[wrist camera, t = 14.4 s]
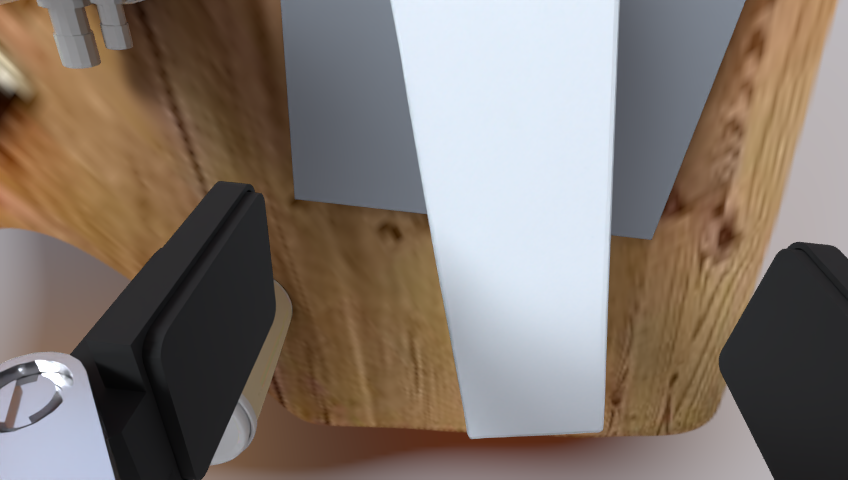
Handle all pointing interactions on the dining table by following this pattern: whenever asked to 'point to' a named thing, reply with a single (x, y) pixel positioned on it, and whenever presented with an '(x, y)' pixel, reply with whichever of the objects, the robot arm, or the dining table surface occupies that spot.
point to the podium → (391, 123)
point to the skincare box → (518, 198)
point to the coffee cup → (256, 385)
